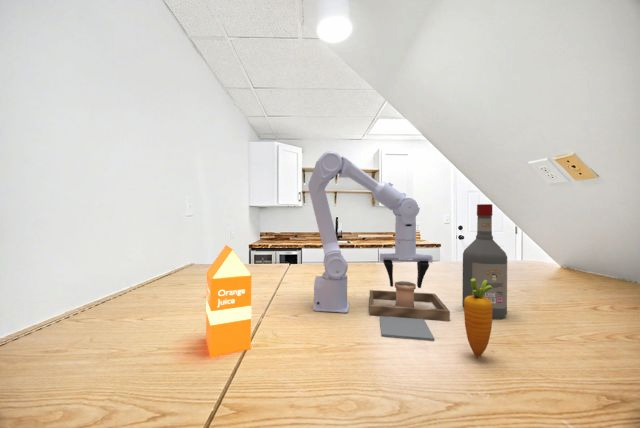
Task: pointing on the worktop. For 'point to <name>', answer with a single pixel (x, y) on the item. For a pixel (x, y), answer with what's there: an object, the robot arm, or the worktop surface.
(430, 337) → the potting mat
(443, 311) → the cold frame
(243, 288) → the orange juice
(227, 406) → the worktop surface
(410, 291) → the terracotta pot
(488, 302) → the carrot
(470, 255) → the liquor
